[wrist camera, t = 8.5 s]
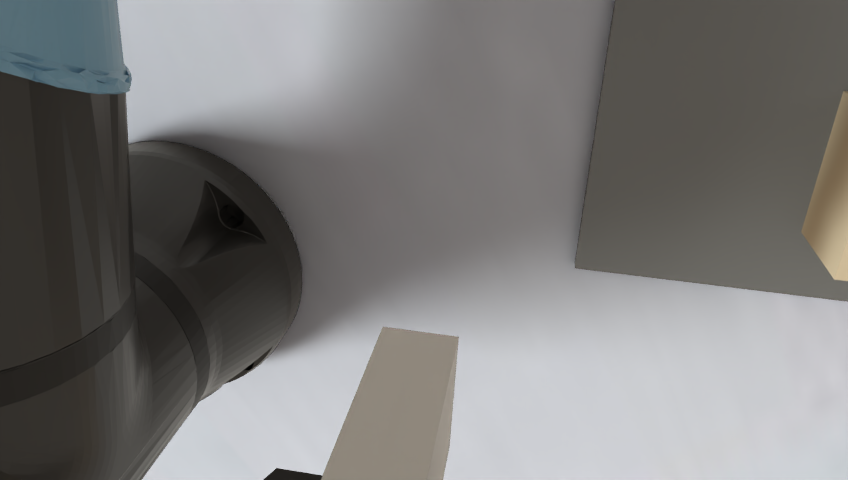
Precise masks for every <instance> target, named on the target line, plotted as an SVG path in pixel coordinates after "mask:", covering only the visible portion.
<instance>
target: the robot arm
mask: <svg viewBox="0 0 848 480" xmlns="http://www.w3.org/2000/svg"><path fill="white" fill-rule="evenodd" d="M131 80H132V78H131V73H130V71H129V70H128V68H127V67H126V66H125V65H124V61H123V52H122V43H121V34H120V25H119V16H118V6H117V0H0V480H142V479H143V477H144V476H145V474H146V473H147V472H148V470H149V469H150V468H151V466H152V465H153V464H154V462H155V461H156V459H157V458H158V457H159V455H160V454H161V453H162V451H163V450H164V448H165V447H166V446H167V444H168V443H169V442H170V440H171V439H172V438H173V436H174V435H175V433H176V432H177V431H178V429H179V428H180V427H181V425H182V424H183V423H184V421H185V420H186V418H187V417H188V416H189V414H190V413H191V412H192V410H193V409H194V408H195V406H196V405H197V403H198V402H199V401H201V400H203V399H205V398H206V397H208V396H209V395H211V394H212V393H214V392H215V391H217V390H218V389H219V388H220V387H221V386H222V385H223V384H225V383H228V382H231V381H233V380H236V379H238V378H240V377H242V376H244V375H245V374H247V373H249V372H250V371H252V370H253V369H255V368H256V367H257V366H259V365H260V364H261V363H262V362H263V361H264V360H265V359H266V358H267V357H268V356H269V355H270V354H271V353H272V352H273V351H274V349H275V348H276V347H277V345H278V344H279V342H280V341H281V339H282V338H283V336H284V335H285V333H286V332H287V330H288V329H289V327H290V325H291V324H292V322H293V320H294V318H295V315H296V313H297V310H298V306H299V303H300V298H301V291H302V271H301V263H300V258H299V254H298V250H297V247H296V244H295V241H294V238H293V236H292V233H291V231H290V229H289V227H288V225H287V223H286V221H285V220H284V218H283V216H282V215H281V213H280V212H279V210H278V209H277V207H276V206H275V205H274V203H273V202H272V201H271V199H270V198H269V197H268V196H267V195H266V193H265V192H264V191H263V190H262V189H261V188H260V187H259V186H258V185H257V184H256V183H255V182H253V181H252V180H251V179H250V178H249V177H248V176H246V175H245V174H244V173H243V172H241V171H240V170H239V169H237V168H236V167H234V166H233V165H231V164H230V163H228V162H226V161H225V160H223V159H221V158H219V157H217V156H215V155H213V154H211V153H208V152H206V151H203V150H201V149H198V148H195V147H192V146H188V145H184V144H179V143H173V142H164V141H148V142H139V143H133V144H129V145H128V127H127V108H126V92H128V91H130V89H129V88H130V86H131ZM458 338H459V337H455V336H448V335H440V334H433V333H425V332H418V331H410V330H403V329H395V328H388V327H383V328H382V330H381V333H380V335H379V337H378V340H377V342H376V345H375V347H374V350H373V352H372V355H371V357H370V360H369V362H368V365H367V367H366V370H365V372H364V374H363V377H362V379H361V382H360V384H359V387H358V389H357V392H356V394H355V397H354V399H353V402H352V404H351V407H350V409H349V412H348V414H347V416H346V419H345V421H344V424H343V426H342V429H341V431H340V434H339V436H338V439H337V441H336V444H335V446H334V449H333V451H332V454H331V456H330V458H329V461H328V463H327V466H326V468H325V471H324V473H323V476H321V475H315V474H309V473H303V472H297V471H290V470H284V469H278V468H276V469H275V470H274V471H273V472H272V473H271V474H270V475H268V476H267V477H266V478H265V479H264V480H443V477H444V472H445V466H446V461H447V456H448V451H449V446H450V434H451V422H452V410H453V398H454V386H455V374H456V362H457V350H458Z"/></svg>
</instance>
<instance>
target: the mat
mask: <svg viewBox="0 0 848 480" xmlns="http://www.w3.org/2000/svg"><path fill="white" fill-rule="evenodd" d="M843 91H848V0H615V3H614V10H613V16H612V23H611V29H610V36H609V43H608V49H607V56H606V62H605V69H604V75H603V82H602V88H601V95H600V102H599V108H598V115H597V121H596V128H595V134H594V141H593V147H592V154H591V161H590V167H589V174H588V180H587V187H586V193H585V200H584V206H583V213H582V220H581V226H580V233H579V239H578V246H577V252H576V259H575V268H578V269H586V270H594V271H602V272H610V273H619V274H627V275H635V276H643V277H651V278H660V279H668V280H676V281H684V282H692V283H700V284H709V285H717V286H725V287H733V288H741V289H749V290H758V291H766V292H774V293H782V294H790V295H799V296H807V297H815V298H823V299H831V300H839V301H848V281H842V280H834V279H833V277H832V276H831V274H830V273H829V271H828V270H827V269H826V267H825V266H824V264H823V263H822V261H821V260H820V258H819V257H818V256H817V254H816V253H815V251H814V250H813V248H812V247H811V245H810V244H809V243H808V241H807V240H806V238H805V237H804V235H803V234H802V232H801V231H802V227H803V224H804V221H805V217H806V214H807V211H808V207H809V204H810V201H811V197H812V194H813V191H814V187H815V184H816V181H817V177H818V174H819V171H820V167H821V164H822V161H823V157H824V154H825V151H826V147H827V144H828V141H829V137H830V134H831V131H832V127H833V124H834V121H835V117H836V114H837V111H838V107H839V104H840V101H841V97H842V94H843Z"/></svg>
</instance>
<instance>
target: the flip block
mask: <svg viewBox="0 0 848 480" xmlns="http://www.w3.org/2000/svg"><path fill="white" fill-rule="evenodd" d="M801 232H802V234H803V235H804V237H805V238H806V240H807V241H808V243H809V244H810V245H811V247H812V248H813V250H814V251H815V253H816V254H817V256H818V257H819V258H820V260H821V261H822V263H823V264H824V266H825V267H826V269H827V270H828V271H829V273H830V274H831V276H832V277H833V279H834V280H842V281H848V91H843V94H842V97H841V101H840V104H839V107H838V111H837V114H836V117H835V121H834V124H833V127H832V131H831V134H830V137H829V141H828V144H827V147H826V151H825V154H824V157H823V161H822V164H821V167H820V171H819V174H818V177H817V181H816V184H815V187H814V191H813V194H812V197H811V201H810V204H809V207H808V211H807V214H806V217H805V221H804V224H803V227H802V231H801Z"/></svg>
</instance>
